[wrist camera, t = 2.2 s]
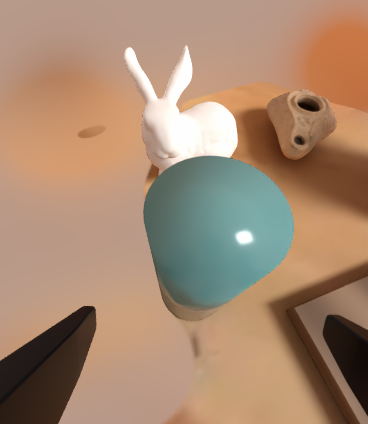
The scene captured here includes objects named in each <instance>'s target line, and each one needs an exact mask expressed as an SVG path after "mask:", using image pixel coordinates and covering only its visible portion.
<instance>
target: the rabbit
mask: <svg viewBox="0 0 368 424" xmlns="http://www.w3.org/2000/svg"><path fill="white" fill-rule="evenodd" d="M124 61H125V63H126V66H127V69H128V71H129V73H130V74H131V76H132V78H133V80H134V82H135V84H136V87H137V89H138V91H139V93H140V94H141V96H142V97H143V99H144V101H145V103H146V106H145V108H144V112H143V115H142V117H143V121H142V138H143V141H144V143H145V144H146V150H147V156H148V158H149V159H150V161H151V162H152V164H153V165H155V166H156V167H158V168H159V175H160V174H161V173H162V172H163V171H164V170H166V169H167V168H169V167H170V166H172V165H174V164H176V163H177V162H180V161H183V160H185V159H189V158H192V157H198V156H222V157H228V158H230V157H231V155H232V154H233V152H234V150H235V149H236V147H237V143H238V139H237V129H236V122H235V119H234V117H233V115H232V114H231V113H230V112H229V111H228V110H227V109H226V108H225V107H224V106H222V105H220V104H218V103H216V102H203V103H201V104H196V105H194V106H193V107H191V108H189V109H187V110H186V111H183V112H181V113H179V110H178V108H177V107H176V102H177V100H178V98H179V96H180V95H181V93H182V91H183V90H184V89H185V88H186V87H187V85H188V84H189V83H190V80H191V78H192V63H191V59H190V56H189V52H188V47H187V46H185V47H184V50H183V53H182V56H181V58H180V60H179V61H178V63H177V65H176V67H175V68H174V70H173V72H172V74H171V77H170V79H169V82H168V85H167V87H166V91H165V94H164V96H163V98H161V99H158V98H157V97H156V95H155V93H154V90H153V88H152V85H151V83H150V81H149V80H148V78H147V76H146V75H145V73H144V72H143V70H142V69H141V67H140V66H139V64H138V61H137V59H136V56H135V53H134V51H133V49H131V48H127V49H126V50H125V52H124Z"/></svg>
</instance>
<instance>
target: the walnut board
mask: <svg viewBox="0 0 368 424" xmlns="http://www.w3.org/2000/svg"><path fill="white" fill-rule="evenodd" d="M286 311H287V313H288V315H289V317H290V319H291V321H292V322H293V324H294V326H295V328H296V330H297V332H298V333H299V335H300V337H301V339H302V341H303V343H304V344H305V346H306V348H307V350H308V352H309V353H310V355H311V357H312V359H313V361H314V363H315V364H316V366H317V368H318V370H319V372H320V374H321V375H322V377H323V379H324V381H325V383H326V385H327V386H328V388H329V390H330V392H331V394H332V395H333V397H334V399H335V401H336V403H337V405H338V406H339V408H340V410H341V412H342V414H343V416H344V417H345V419H346V421H347V423H348V424H368V416H367V415H366V413H365V412H364V410H363V408H362V407H361V405H360V404H359V402H358V400H357V399H356V397H355V395H354V394H353V392H352V391H351V389H350V387H349V386H348V384H347V382H346V380H345V379H344V377H343V375H342V373H341V371H340V369H339V367H338V365H337V363H336V361H335V360H334V358H333V356H332V354H331V352H330V350H329V348H328V346H327V344H326V342H325V340H324V338H323V334H322V331H323V327H324V323H325V319H326V316H327V315H329V314H337V315H341V316H343V317H344V318H346V319H348V320H350V321H352V322H354V323H356V324H358V325H360V326H361V327H363V328H365V329H367V330H368V275H367V276H365V277H363V278H360V279H358V280H356V281H353V282H351V283H349V284H346V285H344V286H342V287H339V288H337V289H335V290H332V291H330V292H328V293H325V294H323V295H321V296H318V297H316V298H314V299H311V300H309V301H307V302H305V303H302V304H300V305H298V306H295V307H293V308H291V309H288V310H286Z"/></svg>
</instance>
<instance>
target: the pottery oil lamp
mask: <svg viewBox="0 0 368 424" xmlns="http://www.w3.org/2000/svg"><path fill="white" fill-rule="evenodd" d="M267 113H268V116H269V118H270V120H271V121H272V124H273V125H274V127H275V130H276V133H277V136H278V140H279V144H280V147H281V150H282V153H283V154H284V155H285V156H286V157H288V158H290V159H293V160H297V159H300V158H302V157H304V156H305V155H306V154H308V153H309V152H310V151H311V149H313V147H314V146H315V145H316V144H317V143H318V142H319V141H320V140H322V139H323V138H325V137H326V136H328V135H329V134H331V133H332V132H333V131H334V130H335V128H336V126H337V122H336V118H335V115H334V111H333V109H332V107H331V106H330V103H329V101H328V100H327V99H326V98H324V97H320V96H319V95H314V93H313V92H311V91H310V90H306V89H301V90H300V91H293V92H288V93H285V94H283V95H280V96H278V97H277V98H274V99H272V100H271V101H270V102H269V103H268V105H267Z"/></svg>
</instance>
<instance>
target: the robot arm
mask: <svg viewBox="0 0 368 424" xmlns="http://www.w3.org/2000/svg"><path fill="white" fill-rule="evenodd" d="M95 330H96V310H95V307H93V306H83V307H81V308H80V309H78V310H77V311H76V312H74V313H72V314H71V315H69V316H68V317H67V318H65V319H63V320H62V321H60V322H59V323H57V324H56V325H54V326H52V327H51V328H49V329H48V330H46V331H45V332H43V333H42V334H40V335H39V336H37V337H36V338H34V339H33V340H32V341H30V342H28V343H27V344H25V345H24V346H22V347H21V348H19V349H18V350H16V351H14V352H13V353H11V354H10V355H8V356H7V357H5V358H4V359H2V360H1V361H0V424H58V423H59V421H60V418H61V416H62V414H63V412H64V410H65V408H66V405H67V403H68V401H69V399H70V397H71V394H72V392H73V390H74V388H75V386H76V383H77V381H78V379H79V376H80V374H81V371H82V368H83V365H84V363H85V360H86V357H87V354H88V351H89V348H90V345H91V342H92V339H93V337H94V334H95ZM322 334H323V338H324V340H325V342H326V344H327V346H328V348H329V350H330V352H331V354H332V356H333V358H334V360H335V361H336V363H337V365H338V367H339V369H340V371H341V373H342V375H343V377H344V379H345V380H346V382H347V384H348V386H349V387H350V389H351V391H352V392H353V394H354V395H355V397H356V399H357V400H358V402H359V404H360V405H361V407H362V408H363V410H364V412H365V413H366V415H367V416H368V330H367V329H365V328H363V327H361V326H360V325H358V324H356V323H354V322H352V321H350V320H348V319H346V318H344V317H343V316H341V315H337V314H329V315H327V316H326V319H325V323H324V327H323V331H322Z"/></svg>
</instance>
